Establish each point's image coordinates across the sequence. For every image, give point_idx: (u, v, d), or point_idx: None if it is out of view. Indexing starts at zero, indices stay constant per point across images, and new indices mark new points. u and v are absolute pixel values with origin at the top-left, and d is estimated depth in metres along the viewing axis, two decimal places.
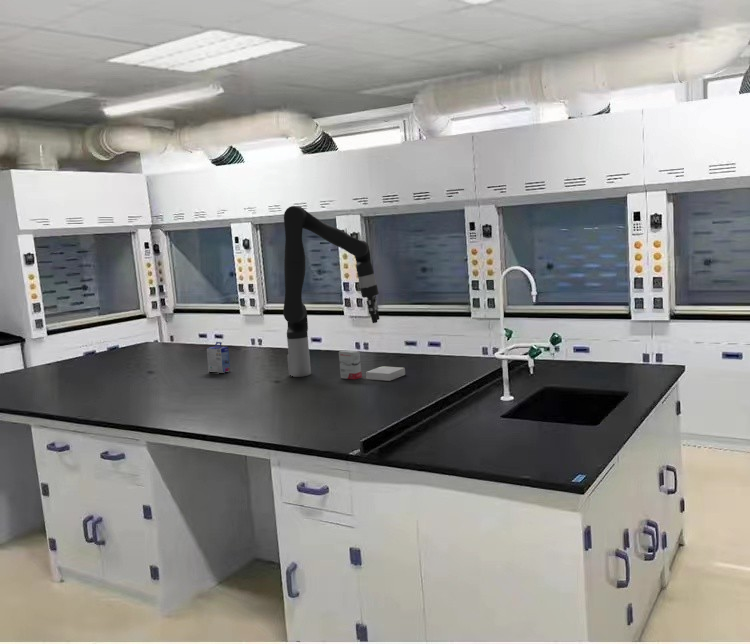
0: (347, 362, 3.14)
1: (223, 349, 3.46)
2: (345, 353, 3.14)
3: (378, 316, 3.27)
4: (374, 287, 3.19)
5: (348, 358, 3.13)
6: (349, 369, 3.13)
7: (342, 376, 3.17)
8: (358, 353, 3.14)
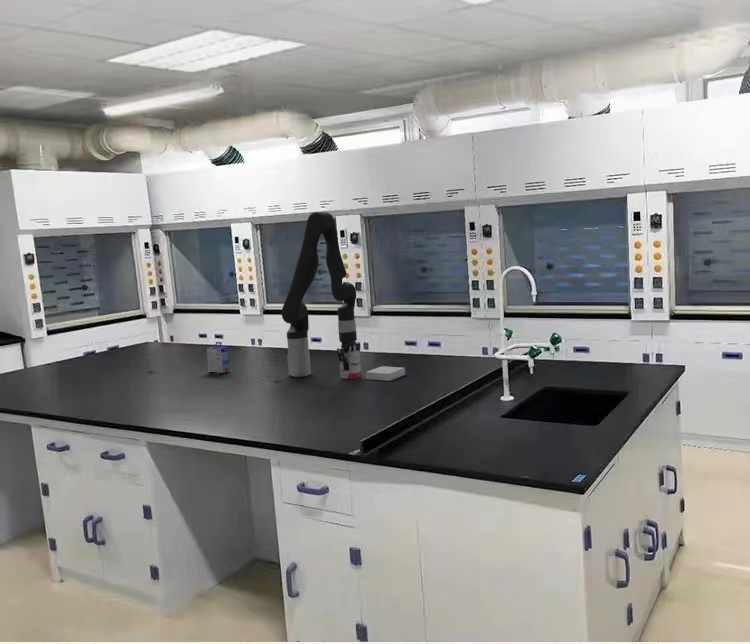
0: None
1: (223, 349, 3.46)
2: (345, 353, 3.14)
3: None
4: (349, 334, 3.11)
5: (348, 358, 3.13)
6: (349, 369, 3.13)
7: (342, 376, 3.17)
8: (358, 353, 3.14)
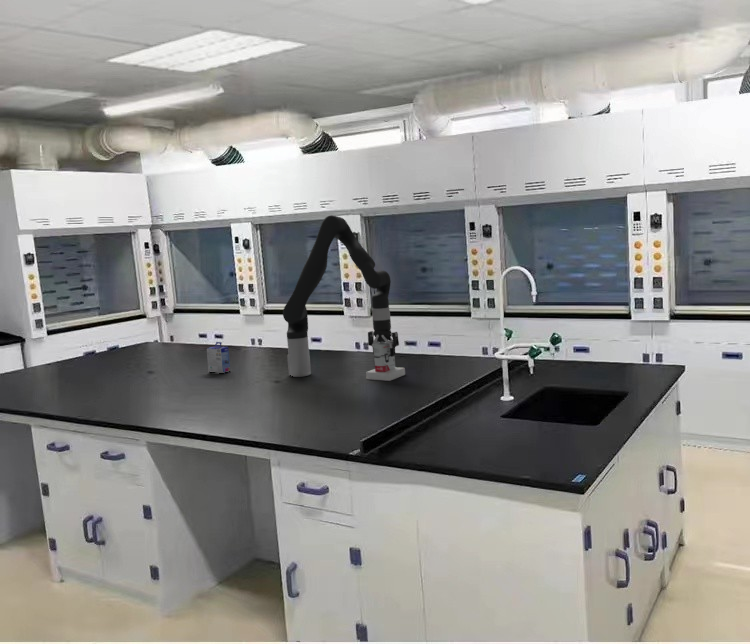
0: None
1: (223, 349, 3.46)
2: None
3: (390, 353, 3.09)
4: (373, 322, 3.09)
5: None
6: None
7: None
8: (380, 347, 3.08)
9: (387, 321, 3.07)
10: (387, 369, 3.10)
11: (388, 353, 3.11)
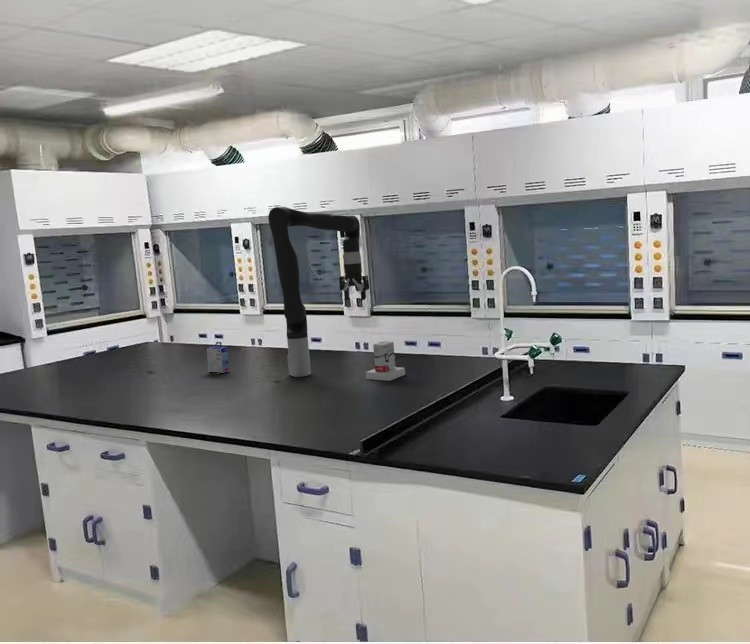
0: None
1: (223, 349, 3.46)
2: None
3: (361, 296, 3.13)
4: (344, 266, 3.14)
5: None
6: None
7: None
8: (380, 347, 3.08)
9: (358, 265, 3.12)
10: (387, 369, 3.10)
11: (388, 353, 3.11)
